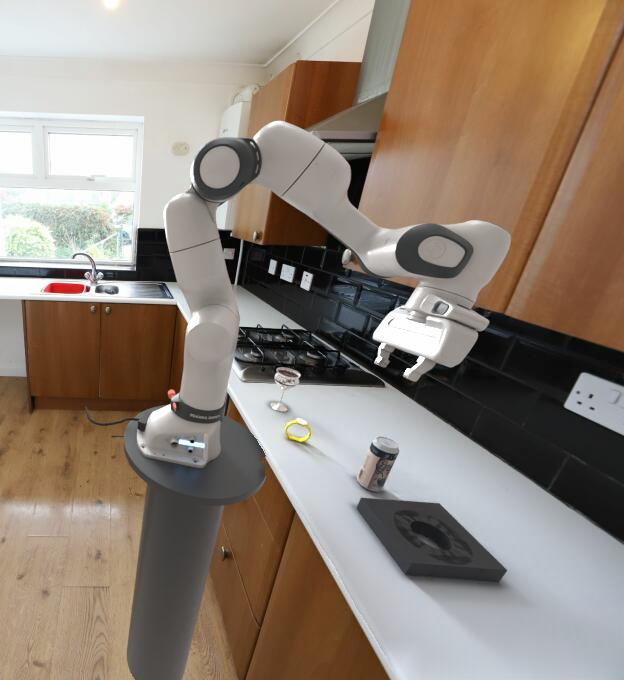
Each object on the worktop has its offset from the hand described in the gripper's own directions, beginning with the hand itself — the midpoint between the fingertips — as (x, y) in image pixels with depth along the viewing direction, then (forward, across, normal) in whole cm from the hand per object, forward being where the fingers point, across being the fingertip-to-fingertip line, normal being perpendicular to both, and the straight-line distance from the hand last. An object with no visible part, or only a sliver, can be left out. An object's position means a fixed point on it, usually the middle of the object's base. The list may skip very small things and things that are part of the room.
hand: (393, 372), depth 70 cm
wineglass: (+24, -33, -1) cm, 41 cm away
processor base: (+27, +10, +15) cm, 32 cm away
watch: (+27, -17, 0) cm, 32 cm away
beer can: (+26, -4, +12) cm, 28 cm away
